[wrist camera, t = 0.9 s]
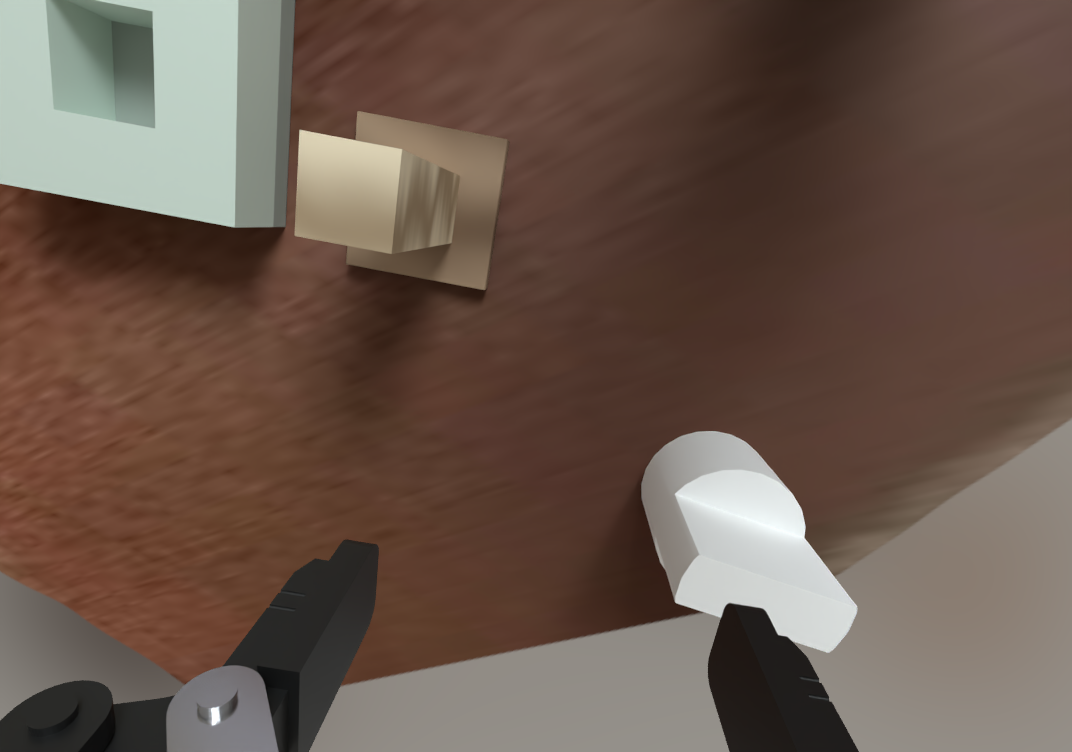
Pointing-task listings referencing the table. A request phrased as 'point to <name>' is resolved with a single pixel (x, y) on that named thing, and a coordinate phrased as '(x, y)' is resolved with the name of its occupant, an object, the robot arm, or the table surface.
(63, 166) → the socket block
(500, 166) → the coaster
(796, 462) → the table surface
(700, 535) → the cylinder with rectangular tab
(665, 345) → the table surface
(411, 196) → the pin
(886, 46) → the table surface
